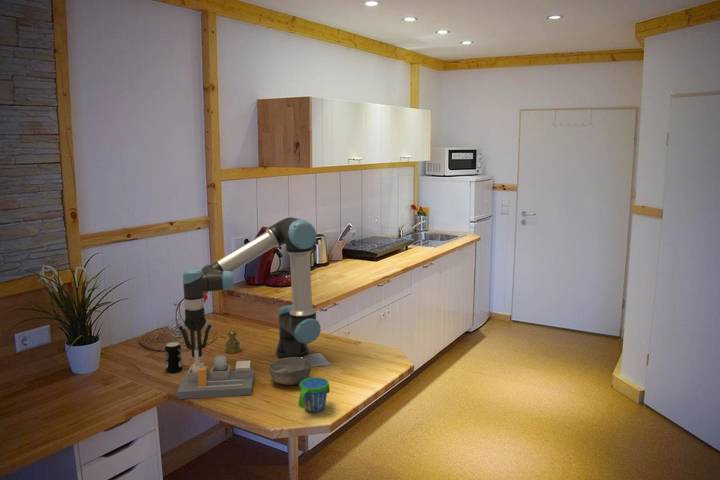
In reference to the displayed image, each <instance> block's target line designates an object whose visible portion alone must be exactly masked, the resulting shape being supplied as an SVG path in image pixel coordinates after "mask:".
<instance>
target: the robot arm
mask: <svg viewBox="0 0 720 480" xmlns="http://www.w3.org/2000/svg"><path fill="white" fill-rule="evenodd" d="M316 240H317V231H316V229H315V227H314V225H313V224H312V223H311V222H309V221H307V220H306V219H301V218H296V217H292V216H291V217H286V218H284V219H281V220H279V221H277V222H276V223H274V224H272V225H271V226H269V227H268V228H266V230H265V232H263V233H262V234H260V235H258V236H257V237H255V238H254V239H252V240H250V241H249V242H247V243H245V244H242V246H240V247H238V248H237V249H234V250H233V251H232V252H230V253H229V254H226V255H225V256H223V257H221V258H219V259H218V260H217V261H215V262H213V263H211V264H205V265H203V266H201V267H200V268H188V269H186V270H184V271H183V274H182V283H183V295H184V296H183V299H184V301H183V303H184V308H185V309H184V321H183V323H181V324H180V325H179V326H178V329H179V331H180V332H181V335H182V337H183V341H184V343H185V348H186V349H189V350H191V357H192V358H194V363H195V366H198V365H199V364H200V363H201V357H202V355H203V349H205V348H206V346H207V344H208V338H209V334H210V329H211V328H212V326H213V324H212V322H211V323H210V322H208V321H207V319H206V314H205V300H204V299H205V296H204V295H205V293H209V292H218V291H219V292H220V291H227V290H231V289H232V288H233V287H234V283H235V281H234V275H233V273H234V272H235V271H237V270H238V269H240V268H242V267H244V266H245V265H247V264H248V263H250V262H252V261H253V260H255V259H257V258H258V257H260V256H262V255H263V254H265V253H266V252H268V251H270V250H271V249H273V248H279V247H281V246H283V245H285V252H286V253H287V254H288V256H289V263H290V264H289V267H290V281H291V282H290V283H291V284H290V285H291V300H292V304H287V305H283V306H280V307H279V308H278V314H277V316H278V335H279V336H278V337H279V338H278V341H277V345H276V349H275V355H276V357H277V358H279V359H282V358H289V357H303V358H305V357H307V356H309V354H310V350H309V349H310V348H309V346H308V344H311V343H313V342H315V341H316V340H317V339H318V337H319V336H320V334H321V324H320V322H319V321H318V320H317V310H316V309H315V308H314V307H313V297H312V276H311V275H312V274H311V253H312V252H313V251H314V244H315V243H316ZM204 327H205V332H204V337H203V342H202V329H203V328H204ZM186 328H187V329H188V330H189V334H190V339H189V336H188V333H187V329H186ZM195 332H196V333H195ZM195 334H197V335H195ZM195 336H197V338H196V337H195ZM196 339H197V340H196ZM196 341H197V347H196ZM306 355H307V356H306ZM304 356H305V357H304Z"/></svg>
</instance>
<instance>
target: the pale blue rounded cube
mask: <svg viewBox="0 0 720 480" xmlns="http://www.w3.org/2000/svg"><path fill="white" fill-rule="evenodd" d="M213 363H214V365H213V366H214V367H215V371H224V370H226V369H227V365H228V363H227V356H226V355H223V354H222V355H217V356H214V357H213Z"/></svg>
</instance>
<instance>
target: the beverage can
mask: <svg viewBox="0 0 720 480" xmlns="http://www.w3.org/2000/svg"><path fill="white" fill-rule="evenodd" d="M164 354H165V355H164V356H165V370H166V372H168V373H171V374H175V373H178V372H180V371H182V369H183V361H182V346H181V344H180V342H179V341H170V342H168V343H165V347H164Z"/></svg>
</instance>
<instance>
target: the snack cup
mask: <svg viewBox="0 0 720 480" xmlns="http://www.w3.org/2000/svg"><path fill="white" fill-rule="evenodd" d="M298 384H299V388H300V394H299V397H298V407H299V408H302V409H305V410H306V411H307V412H308V411H310V412H309V413H315V412H316V413H319V412H318V411H320V412H322V411H324V409H325V408H326V404H327V396H328V395H327V394H329V393H330V392H331V391H330V383H329V380H327V379H326V378H323V377H316V376H314V377H306V378H305V379H304V380H302V381H301V382H300V383H298ZM321 410H322V411H321Z"/></svg>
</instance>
